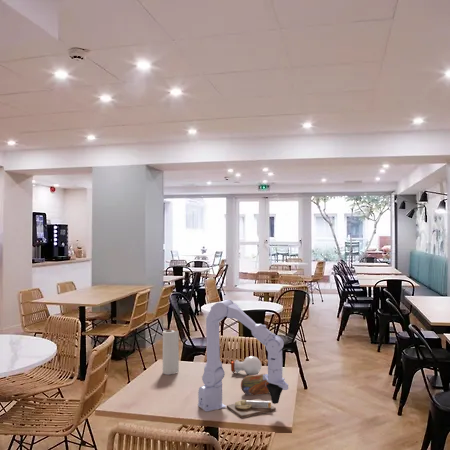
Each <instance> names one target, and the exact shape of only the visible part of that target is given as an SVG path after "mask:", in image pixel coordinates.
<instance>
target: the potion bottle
mask: <svg viewBox="0 0 450 450" xmlns="http://www.w3.org/2000/svg"><path fill="white" fill-rule="evenodd" d="M261 370H262V361H261V360H260V359H259V358H258V357H257V356H253V355H250V356H246V357H245V358H244V360H243V361H239V360H238V359H236V360H232V361H231V362H230V371H231V372H232V373H233V374H234V373H236V374H238V373H239V372H241V371H243V372H245V374H246V375H247V376H248V375H258V374H260V373H259V372H260V371H261Z"/></svg>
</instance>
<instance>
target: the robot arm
mask: <svg viewBox="0 0 450 450" xmlns="http://www.w3.org/2000/svg"><path fill="white" fill-rule="evenodd" d="M225 317H226V319H235V320H237V321H238V322H240V323H241V324H242V325H243V326H244V327H246V328H247V329H249V330H250V332H251V336H253V337H254V338H255V339H256V340H257V341H259V342H260V343H261V344H262V345H263V346H264V347H265V349H266V351H267V373H264V374H265V375H263V380H267V382H269V384H267V385H266V386H267V388H268V390H269V393H268V394H269V395H270V399H271V400H270V401H271V403H272V404H274V405H277V404H279V403H280V402H279V401H280V397H281V394H282V392H283V391H287V390H289V383H287V382H286V380H285V378H284V377H283V348H284V344H285V342H284V339H283V338H282V337H281V336H280V335H276V333H273V332H272V331H271V330H270V329H268V328H267V325H266V324H262V323H256V322H255V320H253V319H252V317H250V316H249V315H247V314H246V313H245V312H244V311H243V310H242V309H241V308H240V307H239V305H238V304H237V303H234V301H233V300H232V299H228V298H227V299H224V300H222V301H219V302H216V303H215V304H213V305H212V306H211V307H210V311H209V312H208V314H207V315H206V318H205V329H206V331H205V332H206V333H205V334H206V336H205V337H206V363H205V365H204V367H203V370H204V371H203V374H202V376H201V379H202V383H203V384H204V385H202V386H200V387H199V388H198V398H197V399H198V402H197V403H198V404H197V406H198V407H199V408H200V409H202V410H203V411H204V412H211V411H216V410H219V409H221V410H222V409H225V408H227V405H225V404H224V403H223V379H224V378H225V374H226V373H225V369H224V367H223V362H222V361H221V358H220V357H221V354H220V353H221V352H220V350H221V349H220V322H221V321H222V320H224V319H225Z"/></svg>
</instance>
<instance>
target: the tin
mask: <svg viewBox="0 0 450 450" xmlns="http://www.w3.org/2000/svg"><path fill="white" fill-rule="evenodd" d="M265 374H266V373H258V374H256V375H248V374H247V375H245V376H244V377H243V378H242V379H241V382H240V389H241V391H242V392H243V394H245V395H247V396H251V397H252V396H259V395H268V394H270V393H269V390H268V388H267V386H266V385H267V384H269V382H267V380H263V375H265Z"/></svg>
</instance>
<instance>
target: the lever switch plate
mask: <svg viewBox="0 0 450 450" xmlns="http://www.w3.org/2000/svg"><path fill="white" fill-rule="evenodd" d="M251 401H264V400H262V399H261V398H256V399H251ZM226 408H227V410H229V411H231V412H232V413H234V414H235V415H237V416H238V417H240V418H241V419H245V418H248V417H253V416H258V415H262V413H263V414H266V412H267V413H271V412H275V410H276V411H277V408H276V407H275V406H273V405H272V404H271V408H261V407H252V408H251V409H249V410H239V409H236V408H235V403H232V404H226Z"/></svg>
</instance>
